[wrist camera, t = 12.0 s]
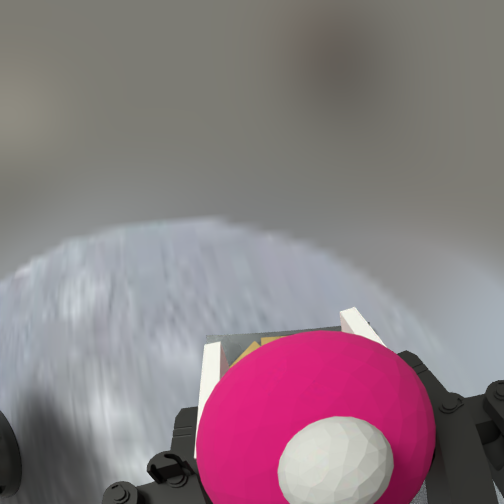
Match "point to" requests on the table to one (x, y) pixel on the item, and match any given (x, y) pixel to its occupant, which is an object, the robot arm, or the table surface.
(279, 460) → the pepper mill
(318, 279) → the table surface
